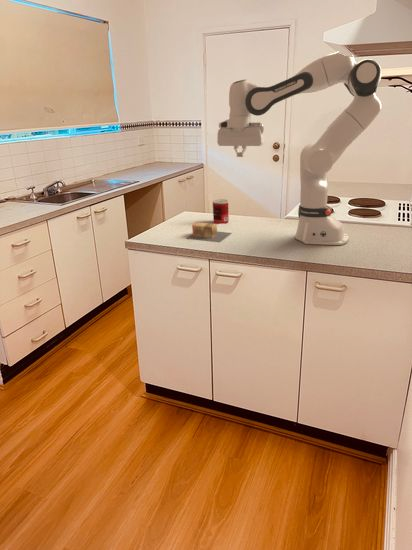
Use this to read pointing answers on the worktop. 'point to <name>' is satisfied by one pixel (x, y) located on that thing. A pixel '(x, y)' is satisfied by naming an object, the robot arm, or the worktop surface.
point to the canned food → (220, 211)
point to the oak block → (204, 230)
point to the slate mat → (217, 238)
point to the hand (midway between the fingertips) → (240, 156)
